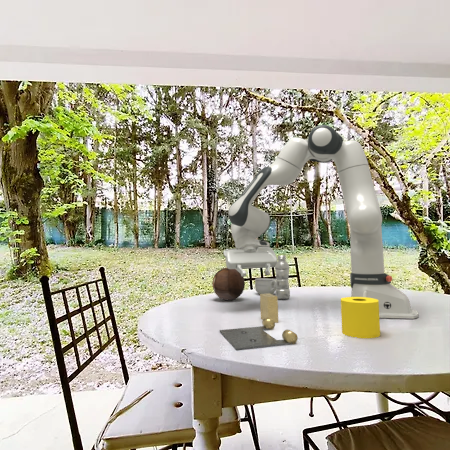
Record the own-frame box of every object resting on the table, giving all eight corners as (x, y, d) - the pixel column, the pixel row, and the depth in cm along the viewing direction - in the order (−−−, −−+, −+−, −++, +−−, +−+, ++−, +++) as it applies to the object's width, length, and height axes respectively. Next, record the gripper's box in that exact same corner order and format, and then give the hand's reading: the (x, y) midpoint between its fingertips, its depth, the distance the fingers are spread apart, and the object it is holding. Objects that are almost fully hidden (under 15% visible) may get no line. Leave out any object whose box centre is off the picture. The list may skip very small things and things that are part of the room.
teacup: (251, 293, 171) (251, 278, 172) (269, 292, 175) (269, 276, 176) (265, 297, 158) (264, 280, 159) (284, 295, 163) (284, 279, 163)
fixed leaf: (219, 331, 99) (219, 321, 100) (271, 327, 104) (271, 317, 104) (236, 350, 82) (236, 337, 82) (297, 343, 86) (297, 331, 86)
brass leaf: (260, 318, 115) (260, 293, 116) (270, 318, 116) (269, 293, 117) (268, 323, 108) (267, 297, 109) (278, 322, 109) (277, 296, 110)
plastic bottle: (275, 298, 156) (274, 255, 157) (290, 298, 155) (288, 255, 156) (275, 300, 150) (274, 255, 151) (290, 300, 149) (289, 255, 150)
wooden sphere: (245, 297, 161) (245, 266, 162) (244, 302, 146) (243, 268, 147) (215, 297, 162) (214, 266, 163) (210, 303, 147) (209, 269, 148)
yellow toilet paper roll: (373, 340, 87) (371, 304, 88) (336, 334, 94) (334, 300, 94) (385, 332, 95) (383, 298, 95) (350, 327, 101) (348, 295, 102)
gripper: (223, 243, 130) (230, 270, 120) (272, 242, 135) (283, 268, 125) (221, 254, 134) (227, 281, 124) (268, 253, 139) (279, 279, 129)
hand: (256, 274), depth 125 cm, fingers open, 8 cm apart
